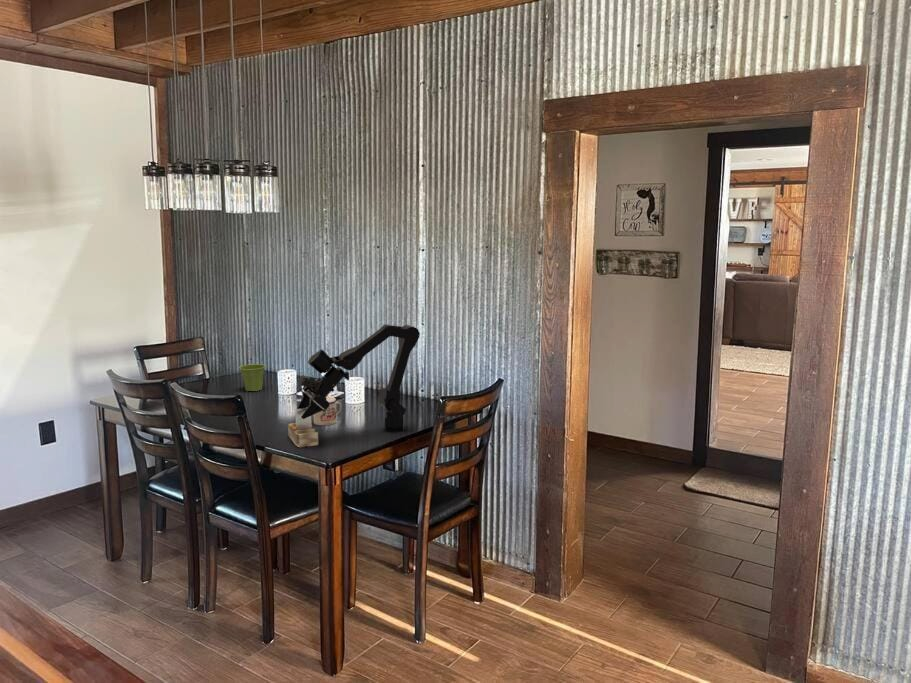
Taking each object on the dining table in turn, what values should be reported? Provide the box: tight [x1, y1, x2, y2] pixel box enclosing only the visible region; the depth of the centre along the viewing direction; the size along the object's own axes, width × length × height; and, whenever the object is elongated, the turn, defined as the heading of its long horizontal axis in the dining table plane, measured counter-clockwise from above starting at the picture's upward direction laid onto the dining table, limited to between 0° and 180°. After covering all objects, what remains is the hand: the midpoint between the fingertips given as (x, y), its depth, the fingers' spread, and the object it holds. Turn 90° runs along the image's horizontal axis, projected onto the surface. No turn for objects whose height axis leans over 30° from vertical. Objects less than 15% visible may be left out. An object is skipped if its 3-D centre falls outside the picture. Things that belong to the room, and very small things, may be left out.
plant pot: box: [238, 363, 267, 392], centre depth 333 cm, size 12×12×11 cm
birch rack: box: [287, 422, 319, 448], centre depth 256 cm, size 7×15×5 cm, turn 24°
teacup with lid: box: [312, 395, 342, 426], centre depth 279 cm, size 12×9×12 cm
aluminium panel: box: [294, 408, 313, 430], centre depth 255 cm, size 5×2×10 cm, turn 114°
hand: (299, 415), depth 254 cm, fingers open, 9 cm apart
